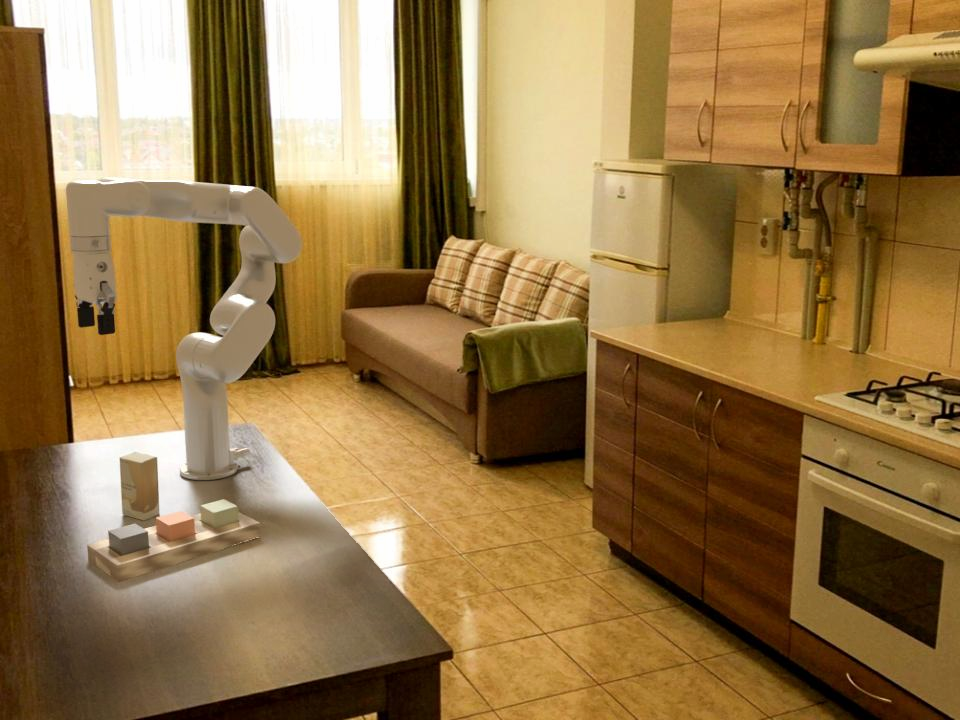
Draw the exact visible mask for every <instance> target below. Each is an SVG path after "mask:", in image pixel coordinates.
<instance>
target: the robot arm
mask: <svg viewBox="0 0 960 720" xmlns="http://www.w3.org/2000/svg"><path fill="white" fill-rule="evenodd" d="M65 186H66V188H65V195H66V196H65V197H66V209H67V222H68V235H69V237H68V238H69V249H70V253H71V254H73V256H72V257H73V288H74V294H75V295H74V298H75V300H76V302H75V306H76V311H77V314H76V315H77V324H78V325H77V326H78V327H79V328H81V329H82V328H89V327H95V326H96V320H97V334H98V335H100V336H104V335H112V334H115V333H116V323H115V312H116V309H115V307H116V303H115V302H117V299H118V293H117V292H118V291H117V284H116V275H115V269H114V268H115V267H114V262H113V258H112V255H111V252H112V240H111V228H110V227H111V225H110V217H121V218H122V217H124V218H137V217H147V218H148V217H150V218H157V219H162V220H167V221H173V222H180V223H181V222H184V223H199V224H200V223H201V224H218V225H219V224H220V225H221V224H222V225H224V224H225V225H235V226H237V225H238V226H244V227H243V228H242V230H241V231H240V234H239V238H238V245H239V246H238V247H239V250H240V256H241V266H240V267H241V268H240V271H239V273H238V275H237V276H236V278H235V279H234V281H232V284H231V285H230V286H229V287H228V289H227V290H226V291H225V292H224V293H223V295H222V297H221V298H220V299H219V300H218V301H217V303H216V304H215V306H214V307H213V308H212V311H211V313H210V316H209V323H210V326H211V328H212V329H213V331H215V333H217V334H219V335H220V336H219V335H216V334H212V333H208V332H199V331H198V332H192V333H190V334H187V335H186V336H184V337H183V338H182V339H181V340H180V341H179V344H178V345H177V348H176V354H175V357H176V359H175V360H176V365H177V370H178V375H179V377H180V383H181V389H182V392H181V393H182V404H183V406H182V408H183V423H184V439H185V440H184V441H185V458H186V460H185V461H186V463H183V464H182V465H181V466H180V468H179V475H180V476H182V477H183V478H185V479H188V480H195V481H213V480H220V479H223V478H227V477H230V476H232V475H234V474H235V473H236V472H238V468H239V467H238V462H236V461H237V460H238V459H239V458H241V459H242V458H246V457H249V456H250V449H249V447H244V448H240V449H239V448H238V447H233V448H231V447H230V445H231V444H230V426H229V425H230V424H229V422H230V421H229V406H228V405H229V400H228V399H229V398H228V397H229V396H228V391H227V385H226V384H230V383H234V382H236V381H238V380H239V379H240V378H241V377H242V376H243V375H245V374H246V372H247V371H248V370H249V368H250V367H251V366H252V364H253V363H254V361H256V359H257V357H258V356H259V355H260V353H261V352H262V350H263V349H264V348H265V347H266V345H267V344H268V343H269V341H270V339H271V337H272V335H273V334H274V331H275V328H276V327H275V326H276V315H275V311H274V310H273V309H272V307H271V306H270V305H269V304H268V303H267V302H268V300H269V299H270V298H271V296H272V295H273V293H274V290H275V287H276V279H277V278H276V267H275V263H276V264H289V263H292V262H293V261H295V260H296V259H298V258H299V257H300V255H301V252H302V248H303V241H302V236H301V234H300V232H299V230H298V229H297V227H296V226H295V225H294V223H293V222H292V220H290V218H289V217H288V216H287V215H286V213H285V212H284V211H283V210H282V208H281V207H280V206H279V204H277V202H276V201H275V200H274V199H273V198H272V197H271V196H270V195H269V194H268V193H267V192H266V191H264V190H263V189H262V188H260V187H257V186H247V185H246V186H245V185H235V184H225V183H224V184H223V183H212V182H211V183H210V182H200V181H199V182H198V181H188V180H145V179H132V178H123V177H111V176H109V177H103V178H99V179H98V180H87V179H86V180H82V179H81V180H72V181H70V182H68V183H67V184H66V185H65ZM93 304H94V305H95V306H94V305H93ZM102 305H103V306H102ZM95 307H96V309H97V312H98V314H96V319H95Z"/></svg>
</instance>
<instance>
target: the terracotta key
mask: <svg viewBox="0 0 960 720" xmlns="http://www.w3.org/2000/svg"><path fill="white" fill-rule="evenodd" d="M191 516H192V515H189V514H187V513H185V512H184V511H182V510H179V511H176V512H172V513H168V514H165V515H160V516H156V517H155V526H156V530H157V535H158V536H160V537H162V538H163V539H165V540H167V541H168V542H171V541H174V540H178V539H181V538H185V537H188V536H191V535H195V523H194V518H193V517H191Z"/></svg>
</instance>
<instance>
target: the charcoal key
mask: <svg viewBox="0 0 960 720" xmlns="http://www.w3.org/2000/svg"><path fill="white" fill-rule="evenodd" d="M107 532H108V533H107V534H108V539H109V548H110V549H111V550H113V551H114V552H116V553H117V554H119V555H120V556H123V555H127V554H130V553H134V552H137V551H140V550H144V549H147V548H149V539H148V531H147V530H145V528H144V527H141V526H140V525H138V524H137V523H132V524H129V525H125V526H121V527H117V528H113V529H109V530H108V531H107Z"/></svg>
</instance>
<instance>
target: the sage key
mask: <svg viewBox="0 0 960 720" xmlns="http://www.w3.org/2000/svg"><path fill="white" fill-rule="evenodd" d="M199 507H200V508H199V509H200V513H201V522H202V523H204V524H206V525H208V526H210V527H212V528H213V529H215V528H219V527H222V526H225V525H229V524H232V523H236V522H238V512H239V508H238V505H236V504H234V503H232V502H230V501H229V500H227V499H224V498H222V499H219V500H216V501H212V502H209V503H205V504H200V506H199Z"/></svg>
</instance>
